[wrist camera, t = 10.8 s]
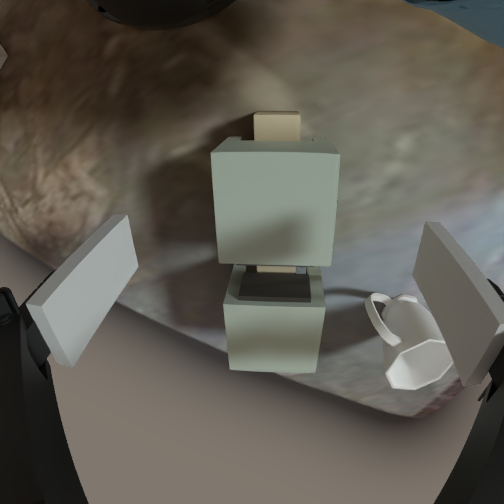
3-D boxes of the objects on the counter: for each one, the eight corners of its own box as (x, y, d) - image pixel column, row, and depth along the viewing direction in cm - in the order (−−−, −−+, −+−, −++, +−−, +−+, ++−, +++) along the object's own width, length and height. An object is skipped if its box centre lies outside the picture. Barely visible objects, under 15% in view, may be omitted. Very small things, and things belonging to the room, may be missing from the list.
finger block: (228, 136, 22) (210, 152, 17) (326, 137, 21) (340, 154, 16) (233, 228, 26) (219, 268, 20) (321, 230, 25) (330, 271, 20)
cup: (395, 343, 33) (412, 398, 26) (335, 302, 31) (345, 363, 24) (441, 304, 30) (468, 357, 23) (386, 254, 28) (412, 309, 20)
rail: (232, 111, 23) (209, 121, 16) (323, 112, 22) (341, 122, 15) (241, 309, 32) (229, 369, 25) (311, 311, 31) (315, 372, 24)
